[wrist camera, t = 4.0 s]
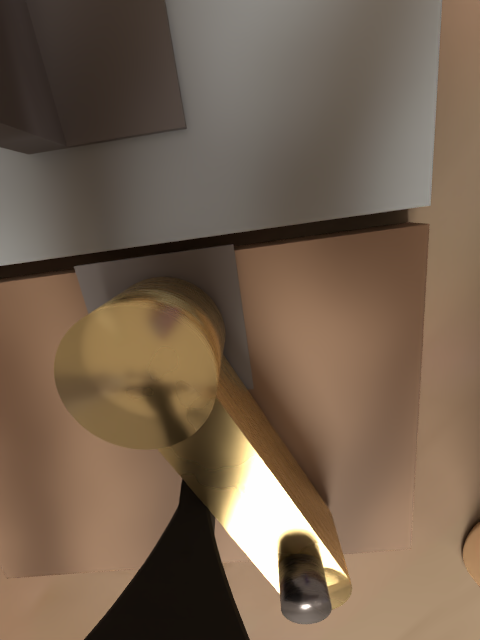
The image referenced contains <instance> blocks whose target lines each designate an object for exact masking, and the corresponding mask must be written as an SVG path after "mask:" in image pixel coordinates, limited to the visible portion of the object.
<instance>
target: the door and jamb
mask: <svg viewBox="0 0 480 640" xmlns="http://www.w3.org/2000/svg"><path fill="white" fill-rule="evenodd" d="M441 11H442V0H0V266H3V265H11V264H18V263H25V262H32V261H39V260H46V259H53V258H60V257H67V256H75V255H82V254H89V253H96V252H103V251H110V250H117V249H124V248H131V247H139V246H146V245H153V244H160V243H167V242H174V241H181V240H188V239H196V238H203V237H210V236H217V235H224V234H231V233H238V232H245V231H252V230H260V229H267V228H274V227H281V226H288V225H295V224H302V223H309V222H316V221H324V220H331V219H338V218H345V217H352V216H359V215H366V214H373V213H380V212H388V211H395V210H402V209H409V208H416V207H423V206H430V205H431V187H432V170H433V152H434V135H435V117H436V99H437V82H438V64H439V46H440V29H441ZM428 240H429V224H423V223H410V222H408V223H401V224H394V225H387V226H379V227H372V228H365V229H358V230H350V231H343V232H336V233H329V234H321V235H314V236H307V237H300V238H292V239H285V240H278V241H271V242H263V243H256V244H249V245H242V246H234V244H229V245H221V246H214V247H207V248H200V249H193V250H185V251H178V252H171V253H164V254H156V255H149V256H142V257H135V258H128V259H120V260H113V261H106V262H99V263H91V264H84V265H77V266H74V269H67V270H60V271H53V272H46V273H38V274H31V275H24V276H17V277H9V278H2V279H0V567H1V569H2V570H3V572H4V574H5V576H6V578H19V577H33V576H47V575H61V574H75V573H89V572H103V571H117V570H131V569H140V568H141V566H142V565H143V564H144V562H145V561H146V559H147V558H148V556H149V555H150V553H151V552H152V550H153V548H154V547H155V545H156V544H157V542H158V540H159V539H160V537H161V535H162V534H163V532H164V530H165V529H166V527H167V525H168V524H169V522H170V520H171V519H172V517H173V515H174V513H175V511H176V509H177V507H178V505H179V498H180V490H181V483H182V478H181V476H180V475H179V474H178V473H177V472H176V471H175V469H174V468H173V467H172V466H171V465H170V463H169V462H168V461H167V460H166V459H165V458H164V456H163V455H162V454H161V453H160V452H159V451H158V449H150V450H140V449H131V448H125V447H121V446H117V445H114V444H112V443H109V442H106V441H104V440H102V439H100V438H98V437H97V436H95V435H93V434H92V433H90V432H89V431H88V430H86V429H85V428H84V427H82V426H81V425H80V424H79V423H78V422H77V421H76V420H75V419H74V418H73V417H72V415H71V414H70V413H69V412H68V410H67V409H66V407H65V406H64V404H63V402H62V400H61V398H60V396H59V394H58V391H57V387H56V384H55V378H54V361H55V355H56V352H57V348H58V346H59V344H60V342H61V340H62V338H63V337H64V335H65V334H66V333H67V331H68V330H69V329H70V328H71V327H72V326H73V325H74V324H75V323H77V322H78V321H79V320H81V319H82V318H83V317H85V316H86V315H88V314H89V313H91V312H92V311H94V310H95V309H97V308H99V307H100V306H102V305H103V304H105V303H106V302H108V301H109V300H111V299H112V298H114V297H115V296H117V295H118V294H120V293H121V292H123V291H124V290H126V289H128V288H129V287H131V286H132V285H134V284H136V283H138V282H140V281H142V280H145V279H149V278H153V277H172V278H178V279H181V280H184V281H187V282H189V283H191V284H193V285H195V286H197V287H198V288H200V289H201V290H202V291H204V292H205V293H206V294H207V295H208V296H209V297H210V298H211V299H212V300H213V302H214V303H215V304H216V306H217V307H218V309H219V311H220V313H221V316H222V318H223V321H224V325H225V345H224V350H223V355H224V357H225V358H226V360H227V361H228V362H229V364H230V365H231V367H232V368H233V370H234V371H235V373H236V374H237V376H238V377H239V378H240V380H241V381H242V383H243V384H244V386H245V387H246V389H247V390H248V392H249V393H250V394H251V396H252V397H253V399H254V400H255V402H256V403H257V405H258V406H259V408H260V409H261V410H262V412H263V413H264V415H265V416H266V418H267V419H268V421H269V422H270V424H271V425H272V426H273V428H274V429H275V431H276V432H277V434H278V435H279V437H280V438H281V440H282V441H283V442H284V444H285V445H286V447H287V448H288V450H289V451H290V453H291V454H292V456H293V457H294V458H295V460H296V461H297V463H298V464H299V466H300V467H301V469H302V470H303V472H304V473H305V474H306V476H307V477H308V479H309V480H310V482H311V483H312V485H313V486H314V488H315V489H316V490H317V492H318V493H319V495H320V496H321V498H322V499H323V501H324V502H325V504H326V505H327V506H328V508H329V509H330V511H331V513H332V516H333V520H334V523H335V527H336V531H337V534H338V538H339V541H340V545H341V549H342V552H343V554H354V553H368V552H382V551H396V550H409V549H411V540H412V522H413V504H414V487H415V469H416V452H417V434H418V416H419V399H420V381H421V363H422V346H423V328H424V311H425V293H426V275H427V258H428ZM214 535H215V539H216V543H217V547H218V551H219V554H220V558H221V561H222V563H228V562H242V561H252V560H251V559H250V558H249V557H248V555H247V554H246V553H245V552H244V551H243V550H242V548H241V547H240V546H239V545H238V544H237V542H236V541H235V540H234V539H233V538H232V537H231V535H230V534H229V533H228V532H227V531H226V529H225V528H224V527H223V526H222V525H221V524H220V522H219V521H218V520H217V519H216V518H215V534H214Z"/></svg>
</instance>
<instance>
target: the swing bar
mask: <svg viewBox="0 0 480 640" xmlns="http://www.w3.org/2000/svg"><path fill="white" fill-rule="evenodd" d="M224 345H225V325H224V321H223V318H222V316H221V313H220V311H219V309H218V307H217V306H216V304H215V303H214V302H213V300H212V299H211V298H210V297H209V296H208V295H207V294H206V293H205V292H204V291H202V290H201V289H200V288H198V287H197V286H195V285H193V284H191V283H189V282H187V281H184V280H181V279H178V278H172V277H153V278H149V279H145V280H142V281H140V282H138V283H136V284H134V285H132V286H131V287H129V288H128V289H126V290H124V291H123V292H121V293H120V294H118V295H117V296H115V297H114V298H112V299H111V300H109V301H108V302H106V303H105V304H103V305H102V306H100V307H99V308H97V309H95V310H94V311H92V312H91V313H89V314H88V315H86V316H85V317H83V318H82V319H81V320H79V321H78V322H77V323H75V324H74V325H73V326H72V327H71V328H70V329H69V330H68V331H67V333H66V334H65V335H64V337H63V338H62V340H61V342H60V344H59V346H58V348H57V352H56V355H55V361H54V378H55V384H56V387H57V391H58V394H59V396H60V398H61V400H62V402H63V404H64V406H65V407H66V409H67V410H68V412H69V413H70V414H71V415H72V417H73V418H74V419H75V420H76V421H77V422H78V423H79V424H80V425H81V426H82V427H84V428H85V429H86V430H88V431H89V432H90V433H92V434H93V435H95V436H97V437H98V438H100V439H102V440H104V441H106V442H109V443H112V444H114V445H117V446H121V447H125V448H131V449H140V450H150V449H158V451H159V452H160V453H161V454H162V455H163V456H164V458H165V459H166V460H167V461H168V462H169V463H170V465H171V466H172V467H173V468H174V469H175V471H176V472H177V473H178V474H179V475H180V476H181V478H182V479H183V480H184V481H185V482H186V484H187V485H188V486H189V487H190V488H191V489H192V491H193V492H194V493H195V494H196V495H197V496H198V498H199V499H200V500H201V501H202V502H203V504H204V505H205V506H207V508H208V509H209V511H210V512H211V513H212V514H213V515H214V517H215V518H216V519H217V520H218V521H219V522H220V524H221V525H222V526H223V527H224V528H225V529H226V531H227V532H228V533H229V534H230V535H231V537H232V538H233V539H234V540H235V541H236V542H237V544H238V545H239V546H240V547H241V548H242V550H243V551H244V552H245V553H246V554H247V555H248V557H249V558H250V559H251V560H252V561H253V563H254V564H255V565H256V566H257V567H258V568H259V570H260V571H261V572H262V573H263V574H264V575H265V577H266V578H267V579H268V580H269V581H270V583H271V584H272V585H273V586H274V587H275V588H276V590H277V591H278V592H279V593H280V601H281V611H282V614H283V615H284V616H285V617H286V618H287V619H288V620H290V621H292V622H295V623H298V624H313V623H317V622H320V621H322V620H324V619H325V618H327V617H328V616H329V614H330V613H331V610H333V609H335V608H337V607H339V606H341V605H343V604H344V603H345V602H346V601H347V600H348V599H349V597H350V595H351V592H352V585H351V581H350V577H349V574H348V570H347V567H346V563H345V559H344V556H343V552H342V549H341V545H340V541H339V538H338V534H337V531H336V527H335V523H334V520H333V516H332V513H331V511H330V509H329V508H328V506H327V505H326V504H325V502H324V501H323V499H322V498H321V496H320V495H319V493H318V492H317V490H316V489H315V488H314V486H313V485H312V483H311V482H310V480H309V479H308V477H307V476H306V474H305V473H304V472H303V470H302V469H301V467H300V466H299V464H298V463H297V461H296V460H295V458H294V457H293V456H292V454H291V453H290V451H289V450H288V448H287V447H286V445H285V444H284V442H283V441H282V440H281V438H280V437H279V435H278V434H277V432H276V431H275V429H274V428H273V426H272V425H271V424H270V422H269V421H268V419H267V418H266V416H265V415H264V413H263V412H262V410H261V409H260V408H259V406H258V405H257V403H256V402H255V400H254V399H253V397H252V396H251V394H250V393H249V392H248V390H247V389H246V387H245V386H244V384H243V383H242V381H241V380H240V378H239V377H238V376H237V374H236V373H235V371H234V370H233V368H232V367H231V365H230V364H229V362H228V361H227V360H226V358H225V357H224V355H223V350H224Z"/></svg>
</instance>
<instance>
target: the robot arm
mask: <svg viewBox="0 0 480 640" xmlns="http://www.w3.org/2000/svg"><path fill="white" fill-rule="evenodd" d="M214 534H215V517H214V515H213V514H212V513H211V512H210V511H209V509H208V508H207V506H205V505H204V504H203V502H202V501H201V500H200V499H199V498H198V496H197V495H196V494H195V493H194V492H193V491H192V489H191V488H190V487H189V486H188V485H187V484H186V482H185V481H184V480H183V479H182V483H181V490H180V498H179V505H178V507H177V509H176V511H175V513H174V515H173V517H172V519H171V520H170V522H169V524H168V525H167V527H166V529H165V530H164V532H163V534H162V535H161V537H160V539H159V540H158V542H157V544H156V545H155V547H154V548H153V550H152V552H151V553H150V555H149V556H148V558H147V559H146V561H145V562H144V564H143V565H142V566H141V568H140V569H139V571H138V572H137V574H136V575H135V576H134V578H133V579H132V581H131V582H130V583H129V585H128V586H127V587H126V589H125V590H124V591H123V593H122V594H121V595H120V597H119V598H118V599H117V601H116V602H115V603H114V604H113V606H112V607H111V608H110V609H109V611H108V612H107V613H106V614H105V616H104V617H103V618H102V619H101V620H100V621H99V623H98V624H97V625H96V626H95V627H94V629H93V630H92V631H91V632H90V633H89V634H88V636H87V637H86V638H85V639H84V640H250V639H249V637H248V634H247V632H246V629H245V626H244V624H243V621H242V619H241V616H240V614H239V611H238V608H237V606H236V603H235V601H234V598H233V595H232V592H231V589H230V586H229V583H228V580H227V577H226V574H225V571H224V568H223V565H222V561H221V558H220V554H219V551H218V547H217V543H216V539H215V535H214Z"/></svg>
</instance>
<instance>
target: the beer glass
mask: <svg viewBox="0 0 480 640" xmlns="http://www.w3.org/2000/svg"><path fill="white" fill-rule="evenodd" d="M463 561H464V564H465V566H466V569H467V571H468V572H469V574H470V575H471V577H472V578H473V579H474V581H475V582H476V583H477V584H478V586H479V587H480V521H479V522H478V523H477V524H476V525H475V526H474V527H473V528H472V530H471V531H470V533H469V534H468V536H467V538H466V540H465V543H464V547H463Z"/></svg>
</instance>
